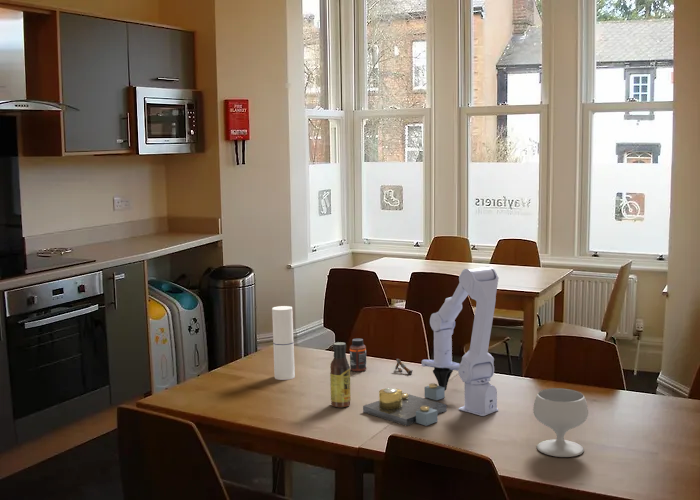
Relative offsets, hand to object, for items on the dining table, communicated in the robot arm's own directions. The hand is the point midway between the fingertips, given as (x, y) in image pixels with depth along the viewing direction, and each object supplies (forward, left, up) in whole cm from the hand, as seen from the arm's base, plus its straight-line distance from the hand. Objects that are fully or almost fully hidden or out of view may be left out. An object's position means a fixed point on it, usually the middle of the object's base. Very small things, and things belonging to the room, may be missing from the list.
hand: (443, 390), depth 261 cm
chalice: (-53, +16, -2) cm, 55 cm away
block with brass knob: (-13, +24, -1) cm, 27 cm away
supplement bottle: (+42, -2, -2) cm, 42 cm away
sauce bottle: (+17, +30, -2) cm, 34 cm away
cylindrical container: (+55, +22, -2) cm, 59 cm away
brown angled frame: (+27, -11, -2) cm, 29 cm away
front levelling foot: (0, +4, -1) cm, 5 cm away
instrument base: (-2, +21, -2) cm, 21 cm away
